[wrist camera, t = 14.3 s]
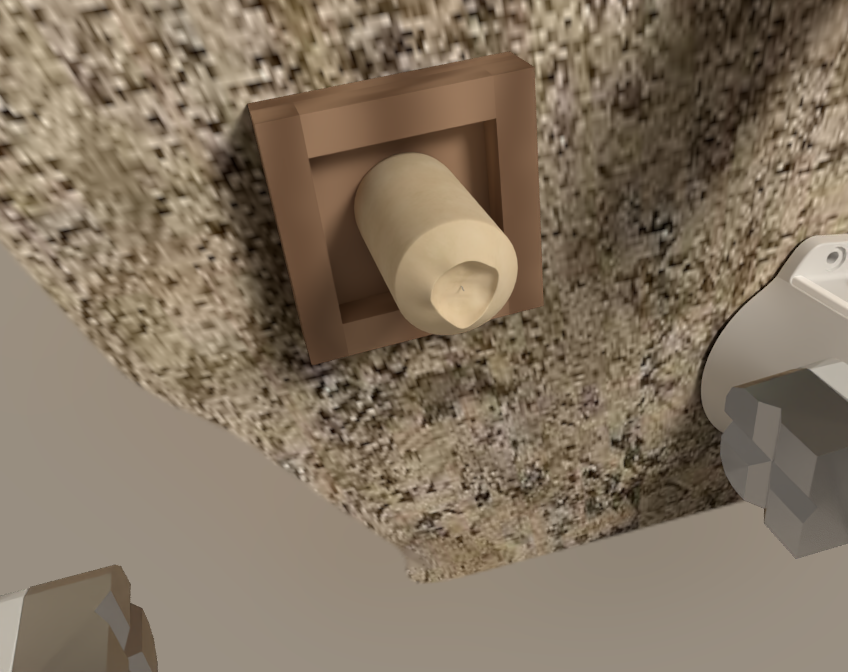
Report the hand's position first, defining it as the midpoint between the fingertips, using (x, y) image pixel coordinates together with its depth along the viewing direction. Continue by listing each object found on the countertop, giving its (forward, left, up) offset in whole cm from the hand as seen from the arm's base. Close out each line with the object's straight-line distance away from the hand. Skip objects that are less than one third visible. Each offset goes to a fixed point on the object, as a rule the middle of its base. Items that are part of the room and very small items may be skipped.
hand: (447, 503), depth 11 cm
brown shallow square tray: (-6, +10, -31) cm, 33 cm away
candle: (-6, +10, -30) cm, 32 cm away
